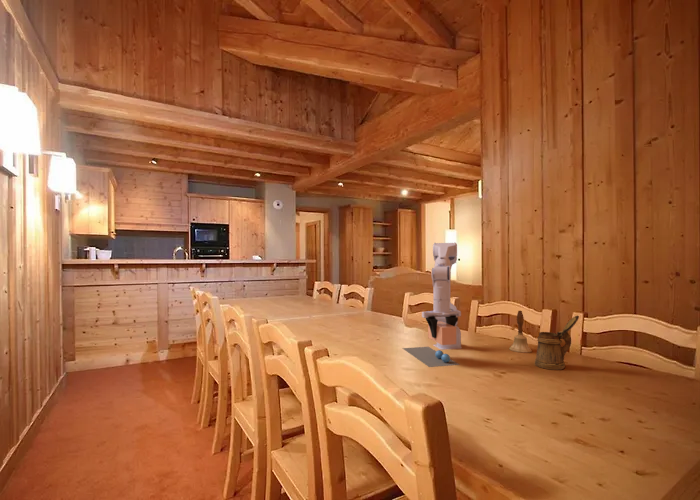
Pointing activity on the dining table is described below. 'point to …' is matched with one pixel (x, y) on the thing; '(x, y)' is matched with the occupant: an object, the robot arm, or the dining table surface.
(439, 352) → the blue marble
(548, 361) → the wooden mug
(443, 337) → the terracotta cover
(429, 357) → the charcoal mat
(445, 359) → the blue marble
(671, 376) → the dining table surface
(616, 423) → the dining table surface
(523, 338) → the hand bell
